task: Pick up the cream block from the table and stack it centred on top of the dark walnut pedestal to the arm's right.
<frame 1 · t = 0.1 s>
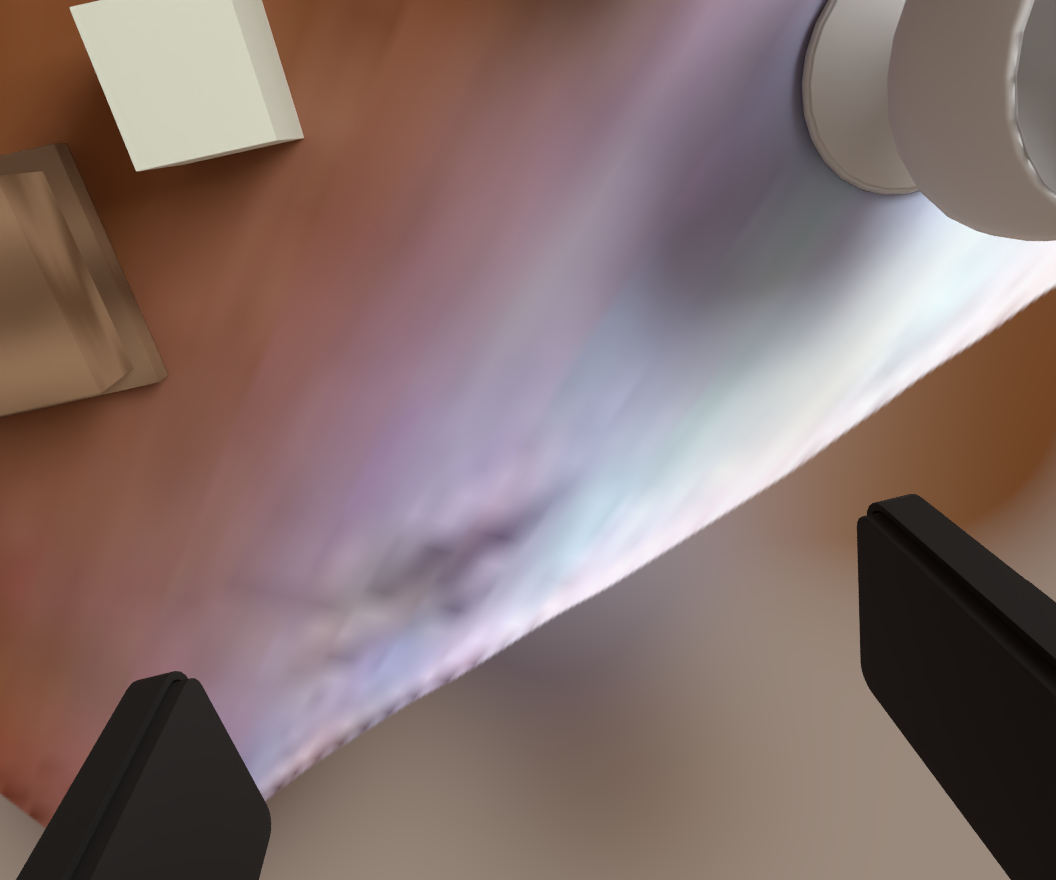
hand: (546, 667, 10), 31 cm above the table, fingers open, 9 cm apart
walnut pedestal: (6, 292, 36), on the table
cream block: (222, 84, 34), on the table
chalice: (911, 69, 37), on the table
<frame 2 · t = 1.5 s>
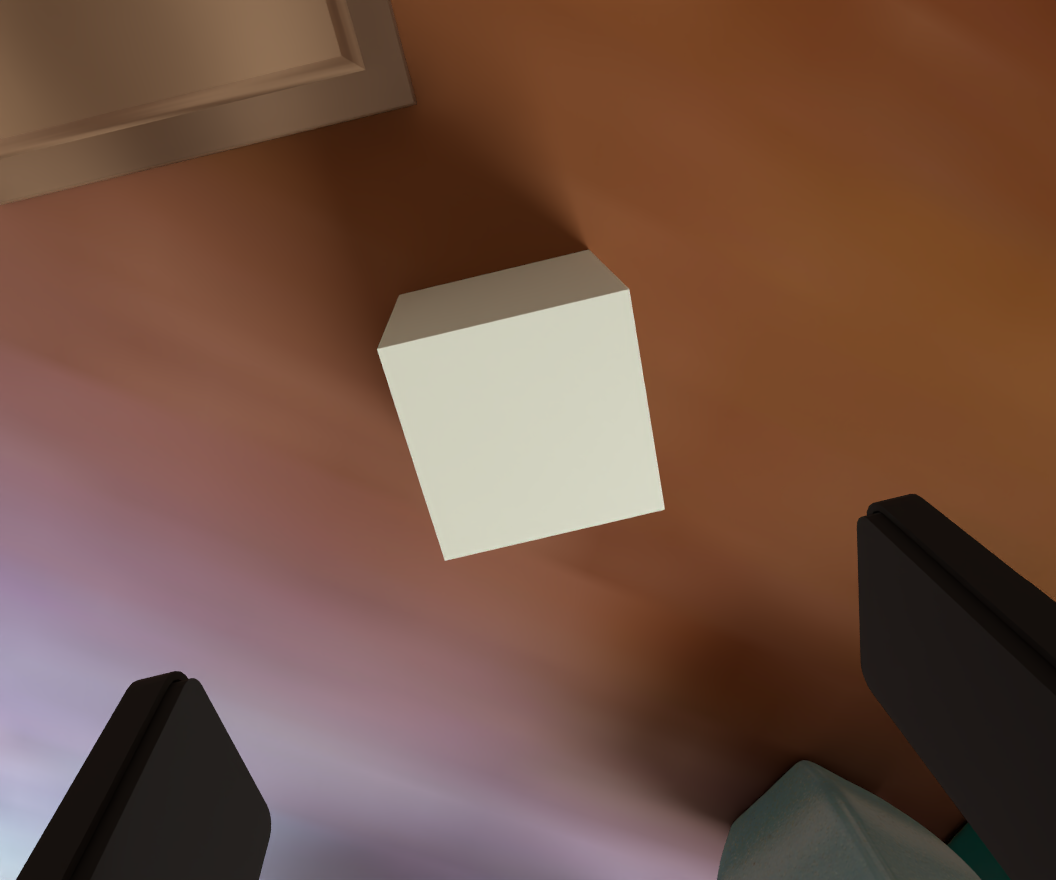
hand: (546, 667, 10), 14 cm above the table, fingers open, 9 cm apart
pitcher: (1002, 856, 35), on the table
cream block: (515, 362, 23), on the table
flower pot: (798, 804, 33), on the table
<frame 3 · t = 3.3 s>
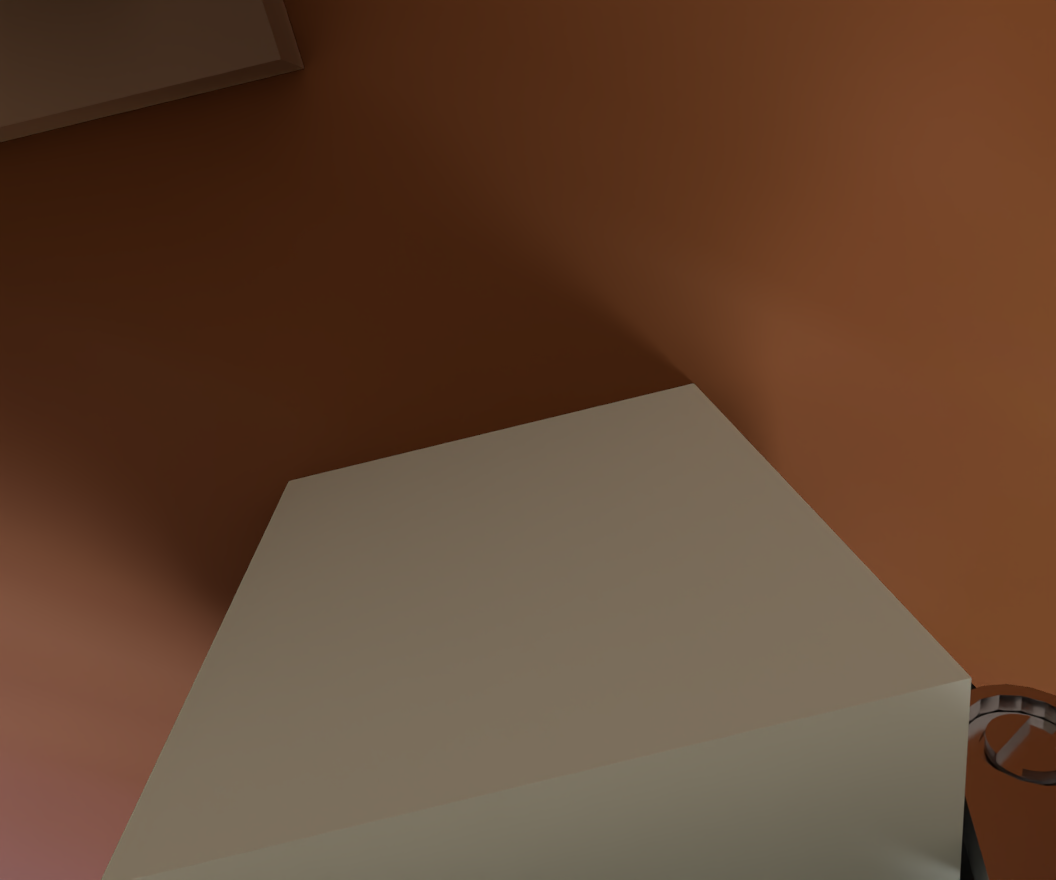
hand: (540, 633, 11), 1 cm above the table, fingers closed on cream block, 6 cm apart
cream block: (535, 597, 11), on the table, touching gripper
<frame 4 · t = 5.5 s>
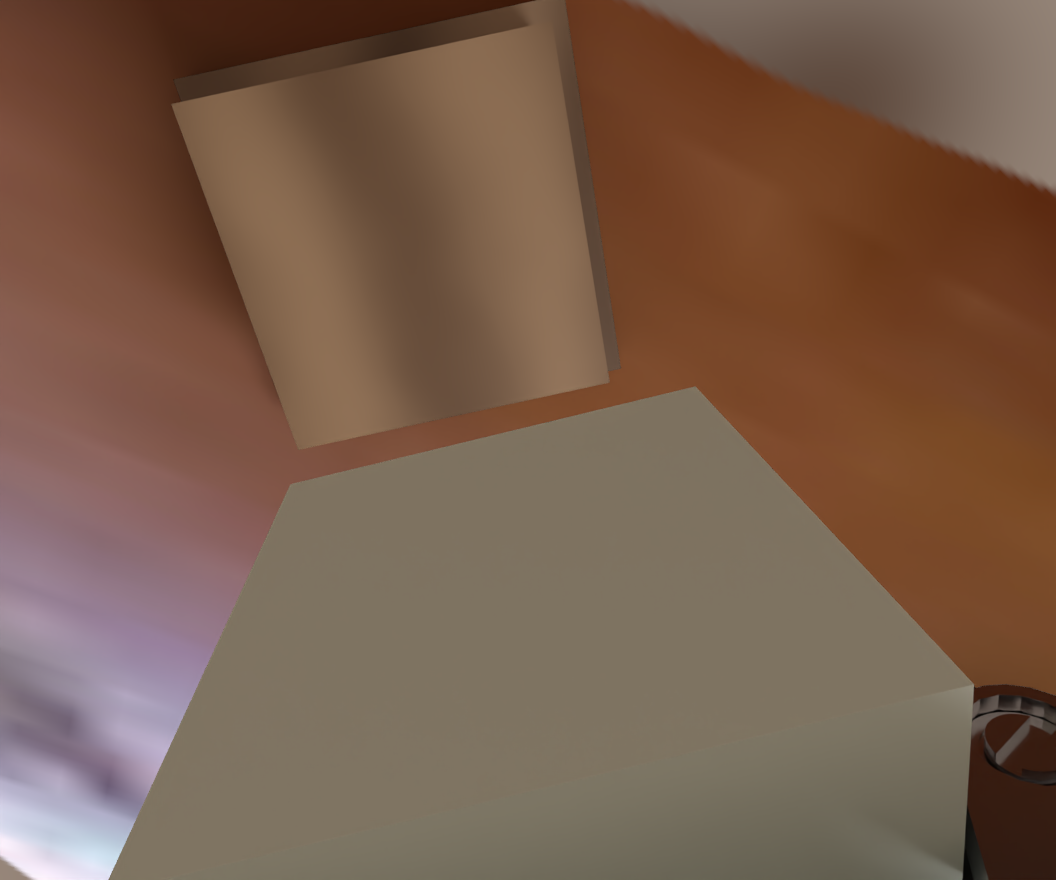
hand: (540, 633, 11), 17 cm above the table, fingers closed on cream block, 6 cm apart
walnut pedestal: (421, 234, 25), on the table
cream block: (536, 600, 11), point 16 cm above the table, touching gripper
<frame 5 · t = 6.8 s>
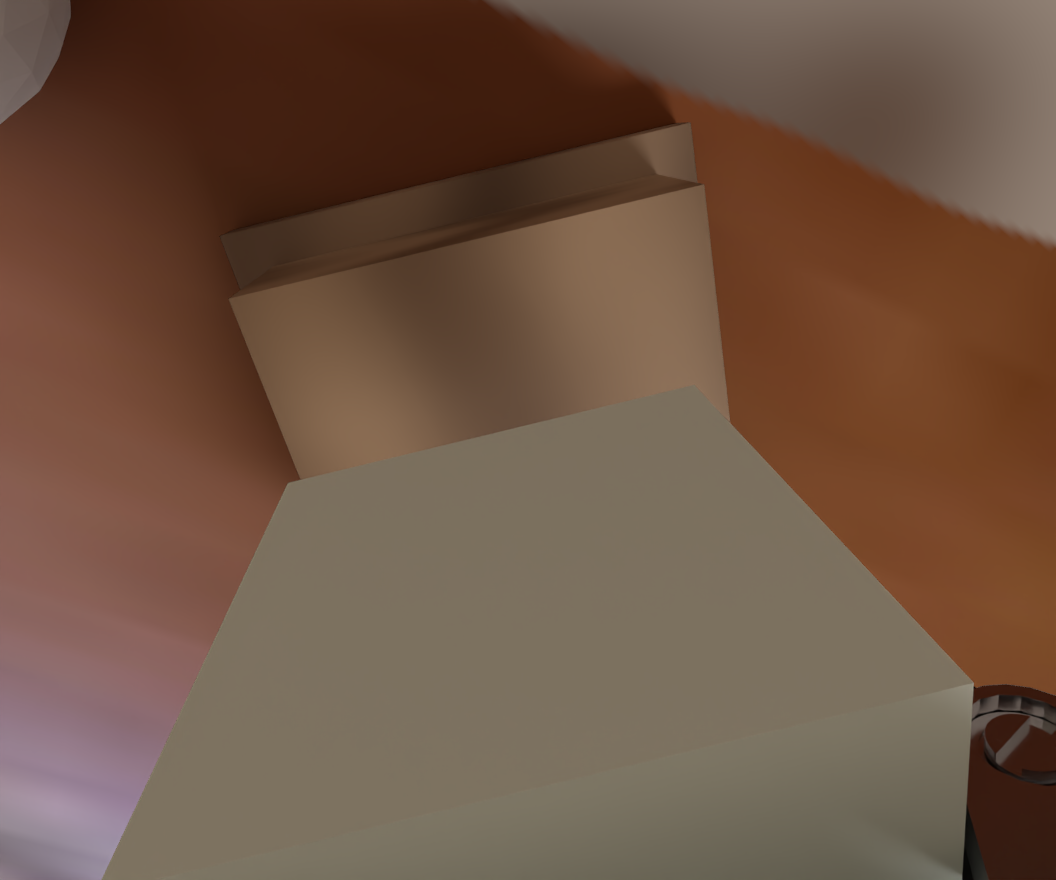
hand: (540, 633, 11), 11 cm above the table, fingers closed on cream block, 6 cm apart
walnut pedestal: (506, 386, 21), on the table
cream block: (535, 599, 11), point 11 cm above the table, touching gripper
when the fingers open (7 cm above the table, at t = 8.0 s): cream block drops 1 cm, resting on walnut pedestal.
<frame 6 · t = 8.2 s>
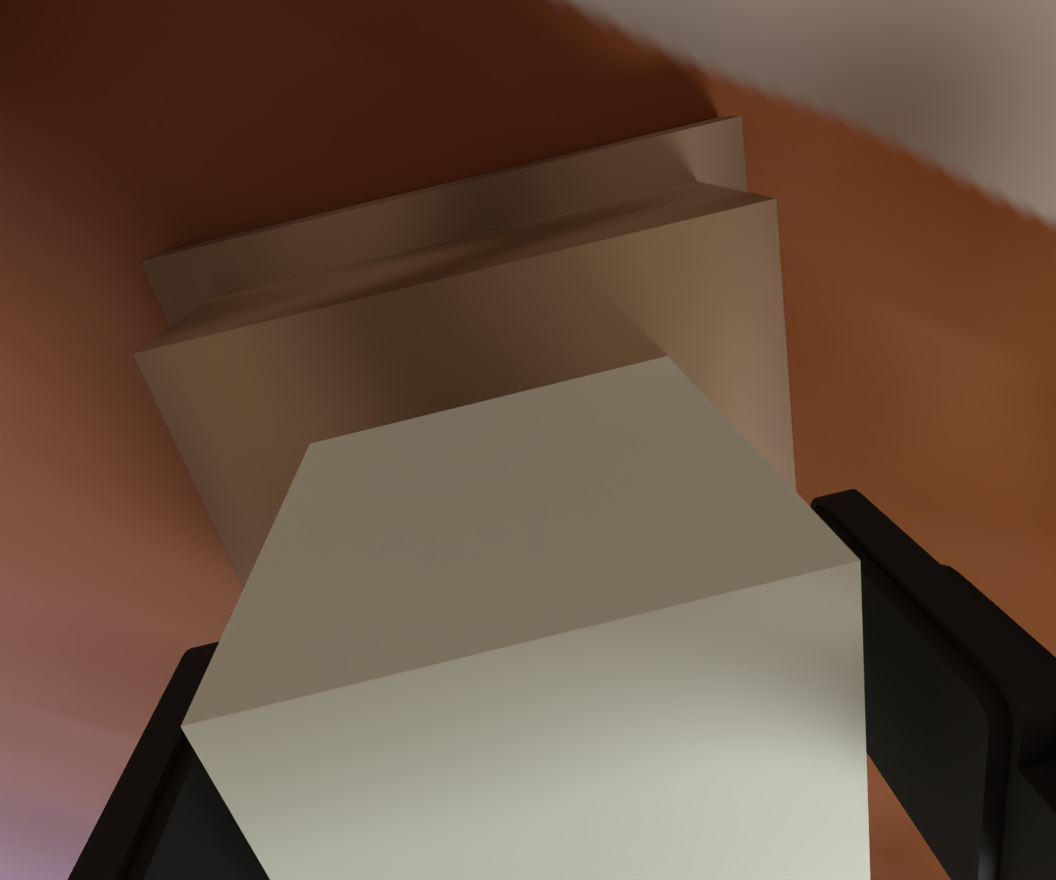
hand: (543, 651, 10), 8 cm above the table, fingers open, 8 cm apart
walnut pedestal: (506, 438, 17), on the table
cream block: (528, 550, 13), point 5 cm above the table, touching walnut pedestal
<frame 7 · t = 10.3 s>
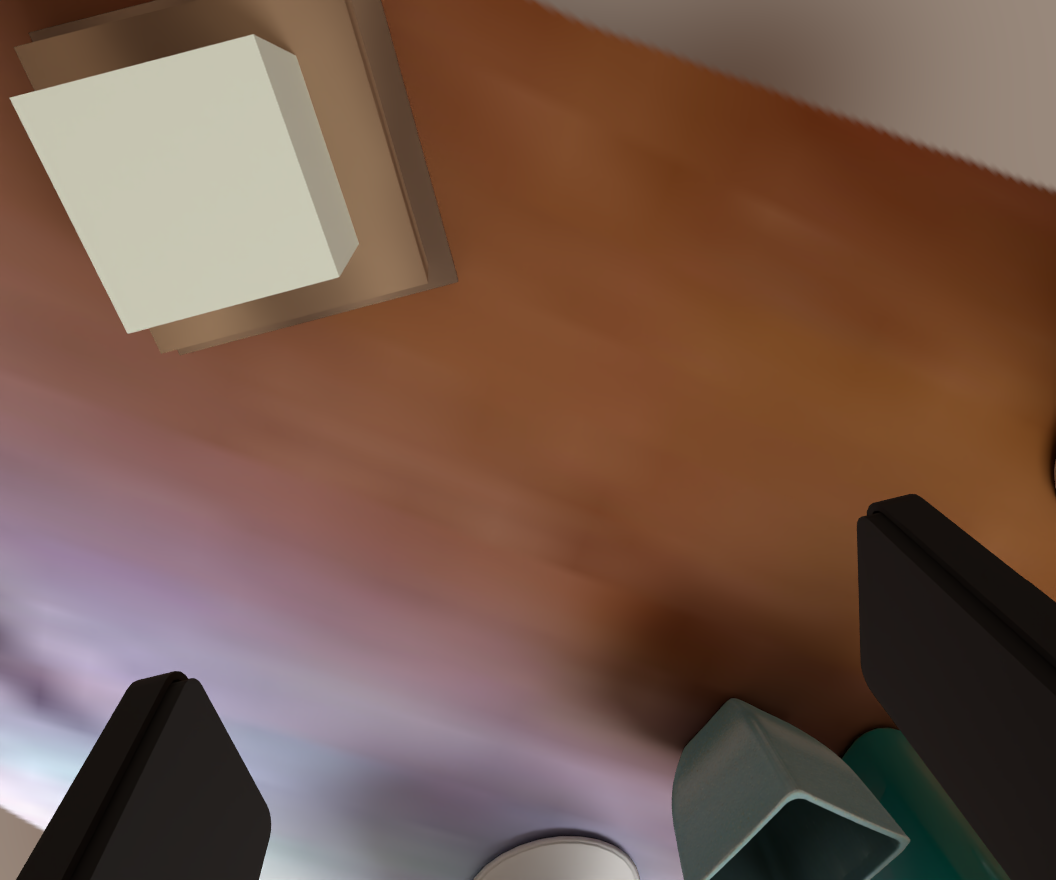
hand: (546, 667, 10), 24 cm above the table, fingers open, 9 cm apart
pitcher: (884, 766, 48), on the table
walnut pedestal: (270, 167, 28), on the table
cream block: (242, 177, 24), point 5 cm above the table, touching walnut pedestal
flower pot: (731, 732, 45), on the table
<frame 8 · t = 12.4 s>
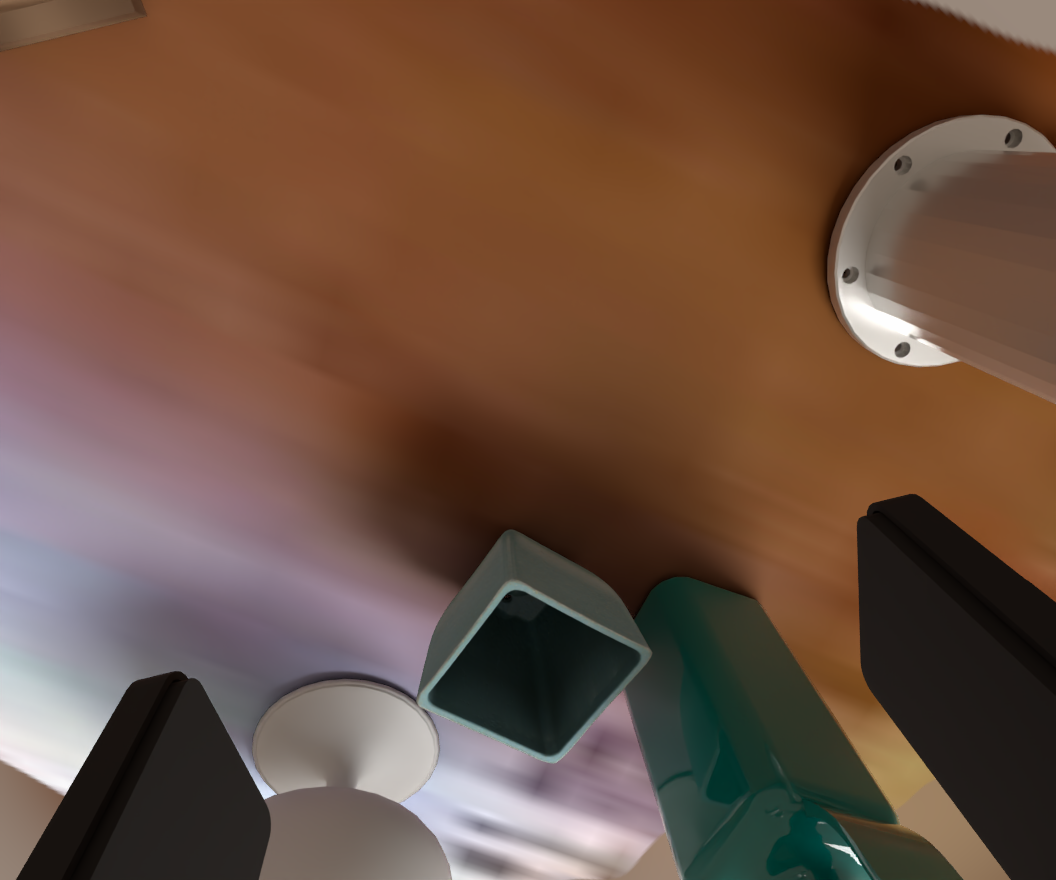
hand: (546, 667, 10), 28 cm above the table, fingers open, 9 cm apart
pitcher: (691, 624, 46), on the table
flower pot: (518, 573, 43), on the table
chalice: (348, 743, 47), on the table
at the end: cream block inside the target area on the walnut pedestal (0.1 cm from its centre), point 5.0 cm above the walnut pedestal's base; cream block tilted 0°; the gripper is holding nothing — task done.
